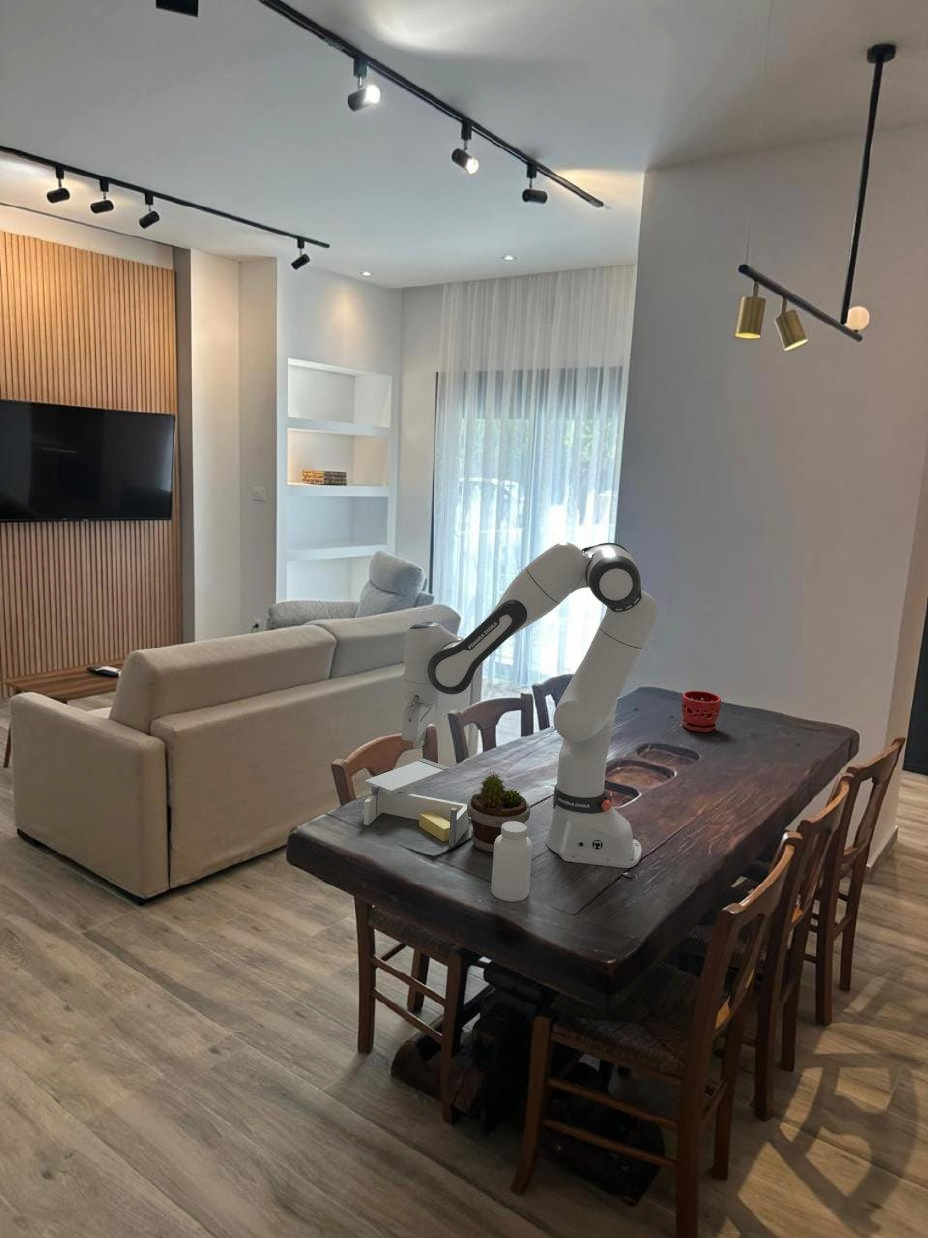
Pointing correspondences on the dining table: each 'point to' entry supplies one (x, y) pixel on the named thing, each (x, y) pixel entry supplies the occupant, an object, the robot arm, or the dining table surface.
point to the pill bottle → (512, 863)
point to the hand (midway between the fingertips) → (418, 747)
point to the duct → (418, 810)
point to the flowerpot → (494, 812)
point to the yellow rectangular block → (435, 825)
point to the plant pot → (700, 710)
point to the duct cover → (406, 777)
